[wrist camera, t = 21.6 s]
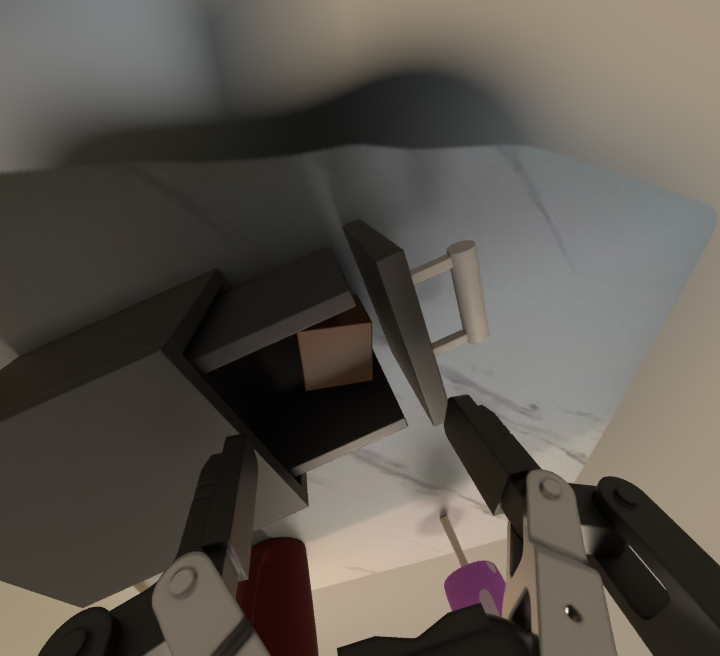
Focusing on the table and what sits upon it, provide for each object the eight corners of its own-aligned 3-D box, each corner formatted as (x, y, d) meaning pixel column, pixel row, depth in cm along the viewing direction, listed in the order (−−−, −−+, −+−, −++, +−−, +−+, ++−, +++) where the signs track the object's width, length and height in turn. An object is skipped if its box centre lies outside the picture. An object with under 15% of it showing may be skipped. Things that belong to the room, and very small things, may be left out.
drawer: (424, 189, 18) (506, 203, 11) (454, 324, 23) (522, 387, 16) (172, 302, 18) (103, 383, 11) (262, 410, 23) (251, 509, 16)
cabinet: (217, 267, 18) (160, 350, 10) (301, 391, 24) (308, 506, 16) (18, 356, 18) (-205, 513, 10) (152, 458, 24) (82, 608, 16)
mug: (211, 535, 31) (177, 699, 21) (295, 510, 32) (297, 656, 22) (250, 582, 37) (237, 725, 27) (319, 559, 38) (329, 690, 28)
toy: (454, 530, 42) (528, 689, 29) (414, 534, 40) (473, 707, 27) (474, 501, 39) (564, 664, 26) (431, 504, 37) (507, 681, 24)
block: (294, 300, 18) (295, 331, 15) (356, 293, 19) (372, 321, 15) (302, 353, 20) (305, 391, 17) (359, 345, 21) (373, 380, 17)
